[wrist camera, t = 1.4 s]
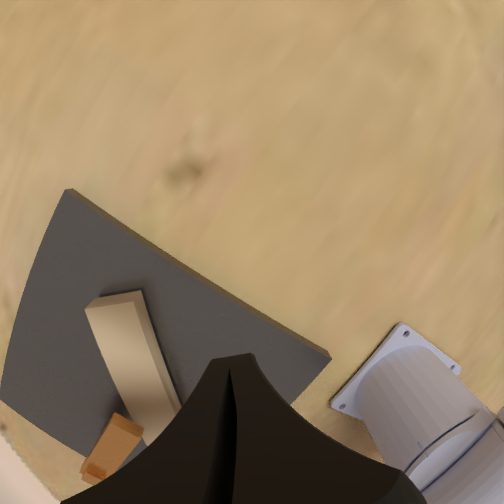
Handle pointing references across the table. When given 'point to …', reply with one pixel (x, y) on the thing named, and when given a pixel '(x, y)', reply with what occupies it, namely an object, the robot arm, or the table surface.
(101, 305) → the link
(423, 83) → the table surface
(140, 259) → the base plate
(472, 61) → the table surface
